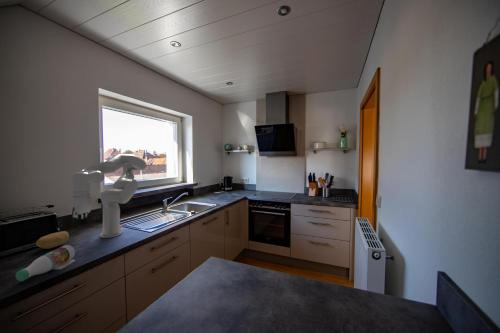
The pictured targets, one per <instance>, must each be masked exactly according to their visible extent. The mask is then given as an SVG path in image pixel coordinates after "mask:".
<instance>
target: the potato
mask: <svg viewBox="0 0 500 333" xmlns="http://www.w3.org/2000/svg"><path fill="white" fill-rule="evenodd" d="M69 238H70V235H69V232H68V231H65V230H64V231H63V230H62V231H58V232H53V233H49V234H47V235H44V236H41V237H40V238H39V239H37V240H36V241H35V244H36V247H39V248H42V249H45V250H50V249H53V248H57V247H59V246H61V245H62V246H63V245H65V243H67V241H68V240H69Z"/></svg>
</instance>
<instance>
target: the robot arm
mask: <svg viewBox="0 0 500 333" xmlns="http://www.w3.org/2000/svg"><path fill="white" fill-rule="evenodd" d="M121 168H122V173H121V175H120V176H119V177H118V178H117V180H115V181H114V183H113V185H112V188H108V189H104V190H103V191H102V193H101V194H100V200H101V204H102V232H101V233H100V234H99V237H100V238H101V239H102V238H103V239H109V238H115V237H118V236H120V235H121V234H123V230H122V229H121V228H123V227H124V224H120V223H121V222H120V219H121V217H120V216H121V215H120V214H121V209H120V205H119V204H127V203H128V202H129V201H130V200H131V198H132V197H133V196H134V195H135V193H136V192H137V190H138V189H139V182H138V181H137V180H136V179H135V174H134V172H133V171H144V170H145V169H146V168H147V162H146V161H145V160H144V159H142V158H140V157H139V156H137V155H134V154H130V153H129V154H128V153H126V154H125V153H120V154H117V155H115V156H113V157H111V158H109V159H108V160H105V161H102V162H98V163H94V164H91V165H89V166H86V167H85V168H82V169H80V170H79V171H77V172H73V173H72V174H71V190H72V191H71V194H72V197H71V198H70V201H69V202H70V203H69V214H70V215H71V216H72V218H75V219H77V220H78V222H77V223H78V226H85V225H87V218H88V214H90V213H91V210H92V208H93V206H92V199H91V198H92V197H91V193H90V192H91V191H90V184H99V183H102V182H103V181H104V179H105V174H113V173H114V172H116V171H118V170H119V169H121Z"/></svg>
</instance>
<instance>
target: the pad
mask: <svg viewBox="0 0 500 333" xmlns="http://www.w3.org/2000/svg"><path fill="white" fill-rule="evenodd" d="M74 262H76V259H70V260H68V261H66V262H64V263H62V264H61V265H59V266H57V267H55V268H53V269H52V270H62V269H64V268H66V267H67V266H69V265H71V264H72V263H74Z"/></svg>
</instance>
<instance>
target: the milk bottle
mask: <svg viewBox="0 0 500 333" xmlns="http://www.w3.org/2000/svg"><path fill="white" fill-rule="evenodd" d="M75 253H76V252H75V249H74V247H73V246H72V245H70V244H66V245H65V244H63V245H62V246H60V247H58V248H56V249H54V250H51V251H50V252H47V253H45V254H43V255H41V256H40V257H38V258H36V259H35V260H33V261H32V263H30V264H29V265H28V266H27V267H26V268H21V269H20V270H18V271H16V273H15V278H16V280H18V282H24V281H25V280H28V279H29V278H31V277H34V276H36V275H43V274H45V273H48V272H49V271H51V270H54V269H53V268H55V267H57V266H59V265H61V264H62V263H64V262H66V261H68V260H72V259H73V258H74V256H75Z"/></svg>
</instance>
